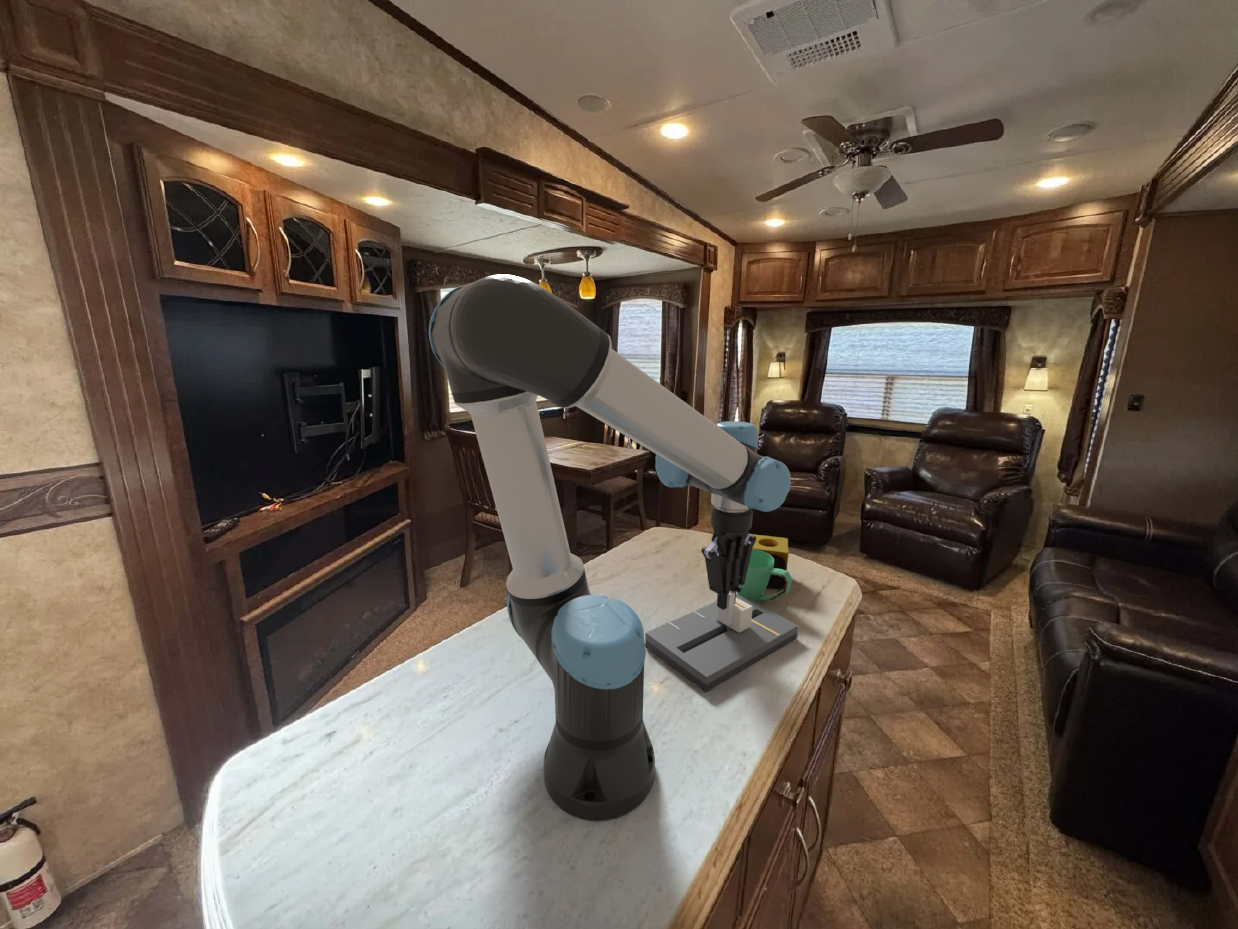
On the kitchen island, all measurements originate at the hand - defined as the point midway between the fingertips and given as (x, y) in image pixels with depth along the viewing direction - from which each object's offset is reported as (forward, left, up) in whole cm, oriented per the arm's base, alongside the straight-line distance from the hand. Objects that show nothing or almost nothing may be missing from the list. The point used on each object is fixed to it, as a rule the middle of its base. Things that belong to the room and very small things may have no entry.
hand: (725, 621), depth 94 cm
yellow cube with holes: (+28, +12, -5) cm, 31 cm away
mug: (+19, +6, -5) cm, 20 cm away
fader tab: (+2, 0, -3) cm, 4 cm away
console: (-1, 0, -5) cm, 5 cm away
